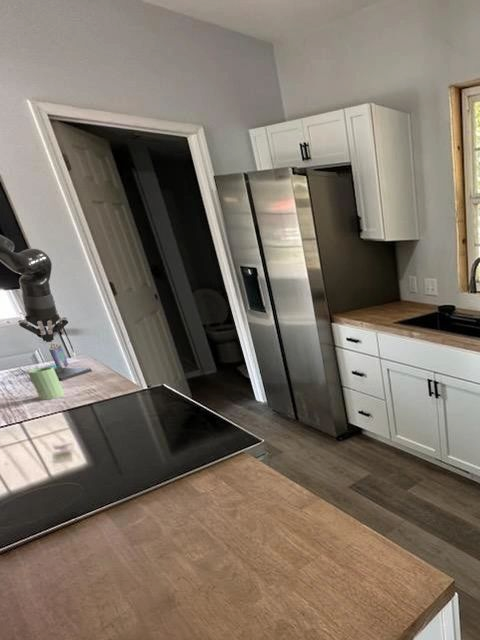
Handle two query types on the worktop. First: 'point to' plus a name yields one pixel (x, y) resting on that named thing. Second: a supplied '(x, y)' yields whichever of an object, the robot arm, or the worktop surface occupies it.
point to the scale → (70, 372)
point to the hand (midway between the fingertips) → (48, 340)
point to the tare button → (52, 366)
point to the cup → (46, 383)
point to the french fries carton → (58, 355)
